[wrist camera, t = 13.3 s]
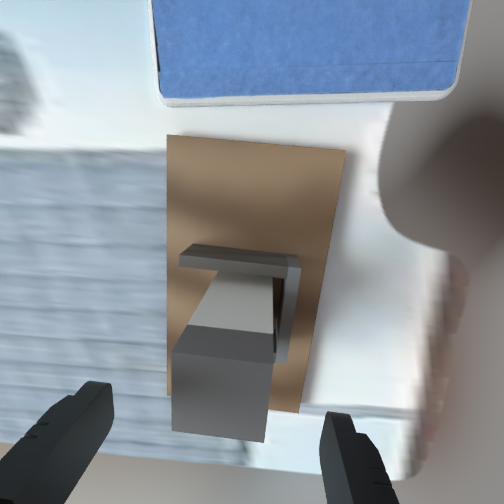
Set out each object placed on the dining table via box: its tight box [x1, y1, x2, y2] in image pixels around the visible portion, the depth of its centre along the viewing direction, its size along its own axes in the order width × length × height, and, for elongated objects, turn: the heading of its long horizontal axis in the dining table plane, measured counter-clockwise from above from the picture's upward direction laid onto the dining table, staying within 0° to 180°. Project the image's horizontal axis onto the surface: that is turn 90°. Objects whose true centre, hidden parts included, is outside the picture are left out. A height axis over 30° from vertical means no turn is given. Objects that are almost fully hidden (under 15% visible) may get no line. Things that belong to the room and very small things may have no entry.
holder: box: [167, 135, 346, 413], centre depth 19 cm, size 22×12×4 cm, turn 175°
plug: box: [171, 271, 274, 443], centre depth 15 cm, size 4×4×10 cm
